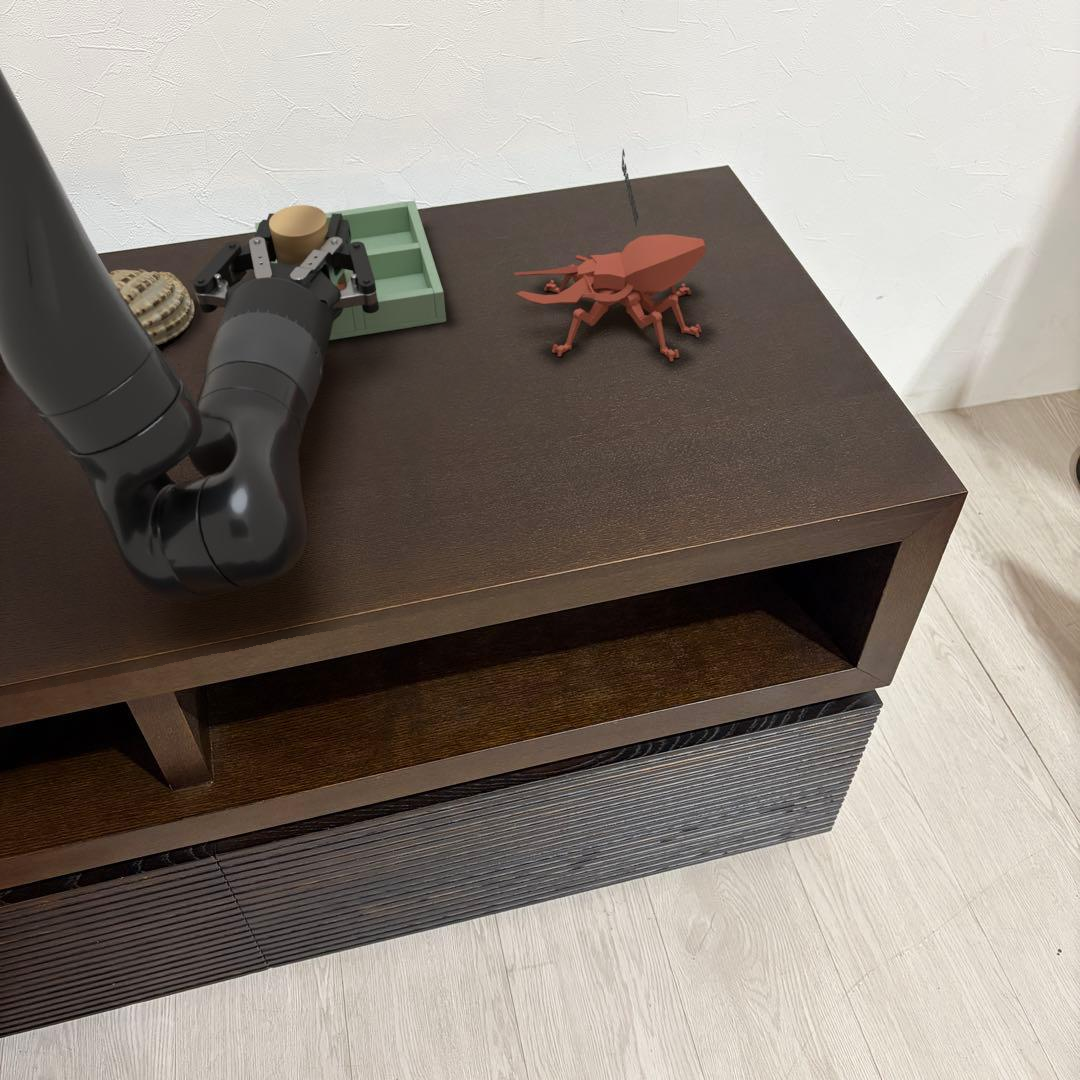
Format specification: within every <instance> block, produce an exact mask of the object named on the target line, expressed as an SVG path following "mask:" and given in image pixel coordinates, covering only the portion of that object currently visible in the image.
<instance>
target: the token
mask: <svg viewBox="0 0 1080 1080" xmlns="http://www.w3.org/2000/svg"><path fill="white" fill-rule="evenodd" d="M274 213H275V214H274V215H273V216H272V217H271V218H270V221H269V227H270V232H271V236H272V241H273V245H274V250H275V255H276V259H277V263H282V264H288V265H291V264H298V263H303V262H304V260H305V259H306V258H307V257H308V256H309V254H310V253H311V252H312V251H313V250H314V249H317V250H319V249H320V248H321V247H322V246H323V244H324V243H325V242H326V235H327V232H328V223H327V217H326V214H325V213H326V212H324V211H323V210H322V209H321V208H319V207H317V206H313V205H309V204H307V205H306V204H297V205H291V206H287V207H284V208H282V209H279V210H278V211H276V212H274ZM336 287H337V288H338V289H339V286H338V281H337V285H336Z"/></svg>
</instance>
